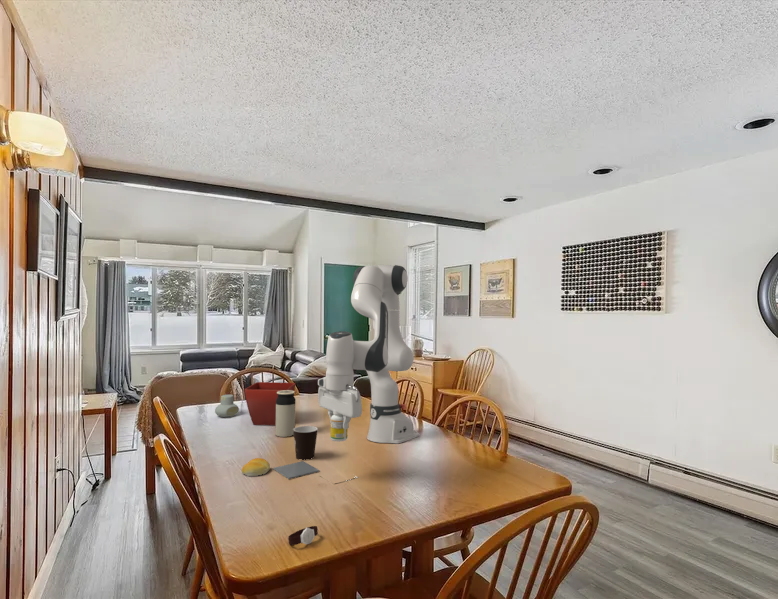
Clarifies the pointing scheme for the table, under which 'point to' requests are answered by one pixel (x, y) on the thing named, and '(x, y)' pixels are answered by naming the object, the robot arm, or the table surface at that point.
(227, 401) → the air freshener
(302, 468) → the slate coaster
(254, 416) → the plant pot
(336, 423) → the supplement bottle
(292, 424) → the travel mug
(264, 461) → the bread roll
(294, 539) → the watch
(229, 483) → the table surface
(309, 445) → the coffee mug
